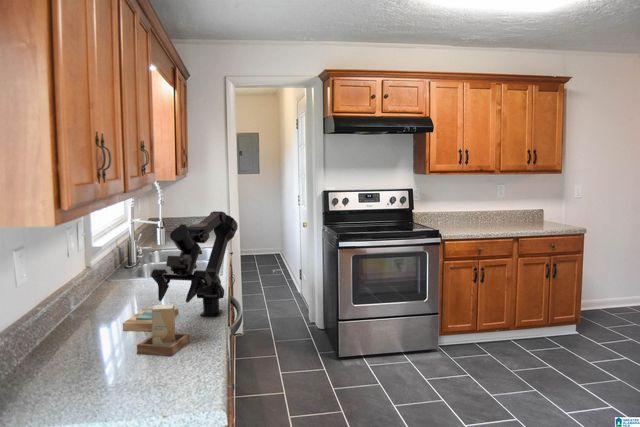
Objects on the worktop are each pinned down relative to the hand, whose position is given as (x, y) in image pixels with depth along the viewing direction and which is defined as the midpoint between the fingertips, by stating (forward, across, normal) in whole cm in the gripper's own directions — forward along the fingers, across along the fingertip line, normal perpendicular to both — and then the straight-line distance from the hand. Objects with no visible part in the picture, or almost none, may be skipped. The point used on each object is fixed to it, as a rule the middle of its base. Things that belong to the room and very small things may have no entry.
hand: (173, 301), depth 158 cm
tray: (+13, 0, +4) cm, 14 cm away
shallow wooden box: (-1, -17, +19) cm, 25 cm away
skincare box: (+13, 0, +4) cm, 14 cm away
